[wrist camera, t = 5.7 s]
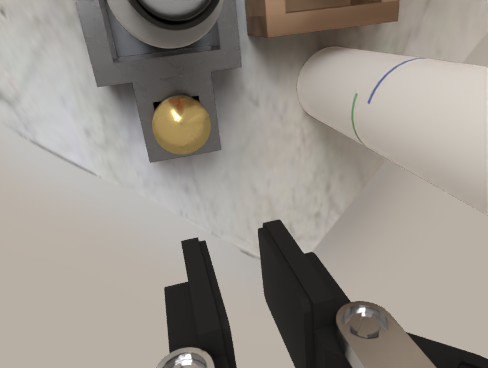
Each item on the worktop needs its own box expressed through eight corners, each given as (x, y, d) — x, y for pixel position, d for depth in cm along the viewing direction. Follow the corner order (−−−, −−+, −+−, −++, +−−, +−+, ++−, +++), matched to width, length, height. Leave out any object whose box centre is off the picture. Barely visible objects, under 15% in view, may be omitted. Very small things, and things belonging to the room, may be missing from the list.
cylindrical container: (375, 66, 38) (710, 133, 16) (339, 130, 40) (593, 271, 17) (319, 32, 35) (628, 53, 13) (284, 102, 37) (500, 227, 15)
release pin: (145, 89, 32) (146, 102, 27) (196, 82, 33) (206, 93, 28) (156, 138, 34) (158, 159, 29) (203, 130, 35) (214, 149, 30)
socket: (65, -76, 27) (49, -95, 23) (212, -85, 29) (224, -104, 25) (121, 149, 35) (118, 168, 30) (236, 129, 37) (249, 144, 32)
